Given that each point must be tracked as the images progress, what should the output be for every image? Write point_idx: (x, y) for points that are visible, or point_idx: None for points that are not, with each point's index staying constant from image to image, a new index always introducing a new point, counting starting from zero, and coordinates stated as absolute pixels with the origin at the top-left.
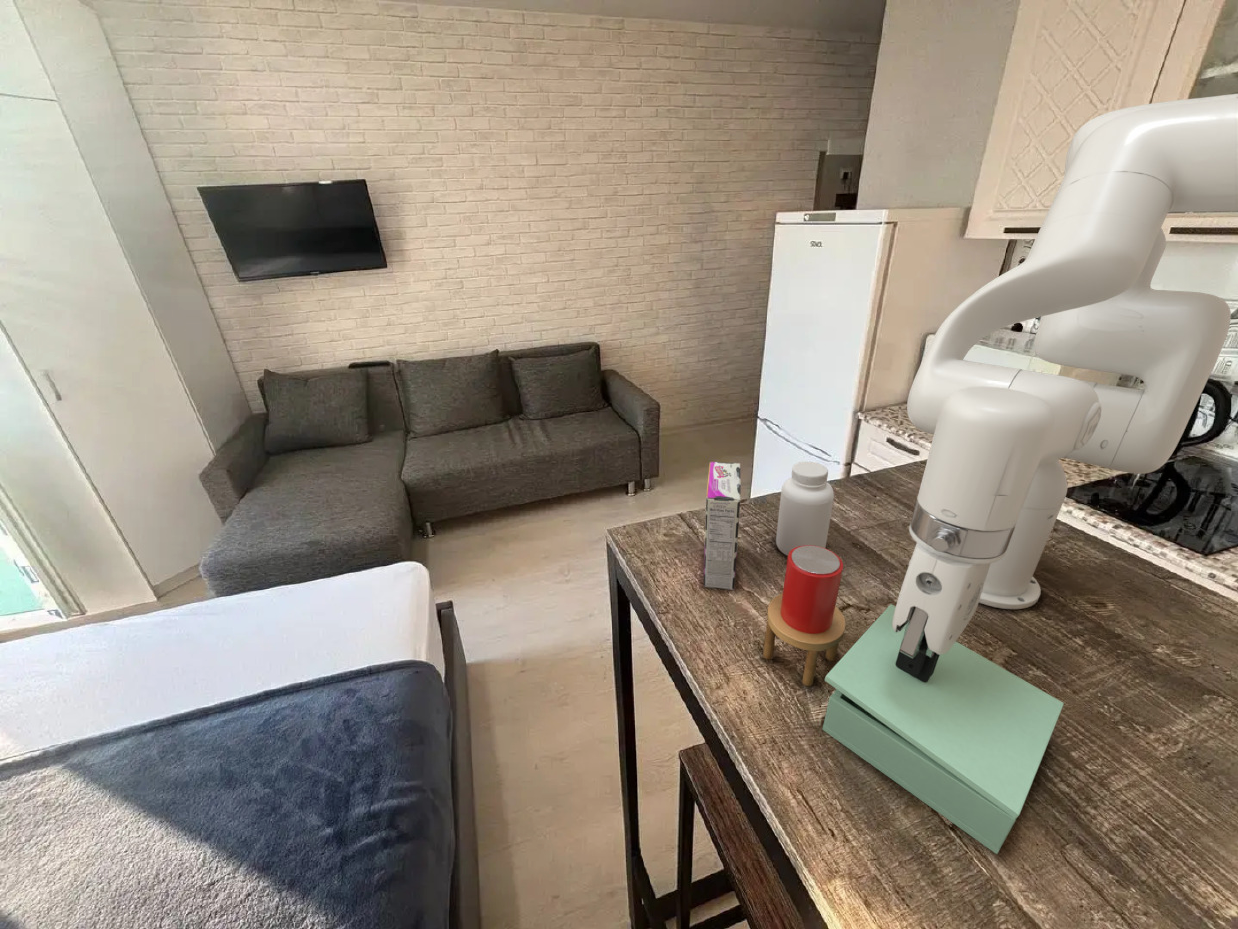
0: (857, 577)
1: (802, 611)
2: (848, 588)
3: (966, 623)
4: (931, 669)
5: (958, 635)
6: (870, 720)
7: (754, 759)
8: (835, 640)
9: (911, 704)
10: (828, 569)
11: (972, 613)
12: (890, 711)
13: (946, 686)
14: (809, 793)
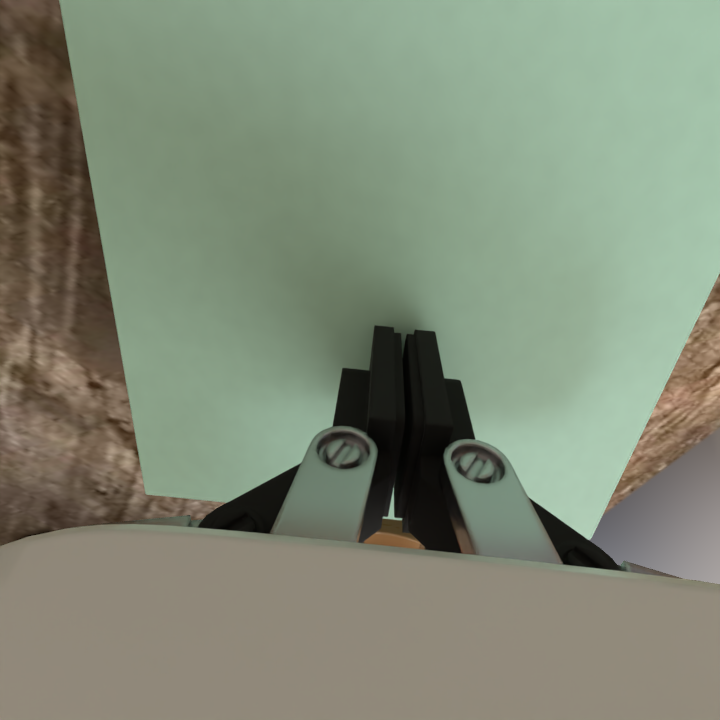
0: (34, 465)
1: None
2: (88, 468)
3: (378, 627)
4: (442, 371)
5: (619, 643)
6: None
7: (666, 451)
8: (402, 534)
9: (555, 338)
10: None
11: (187, 642)
12: (627, 381)
13: (380, 262)
14: (703, 359)
